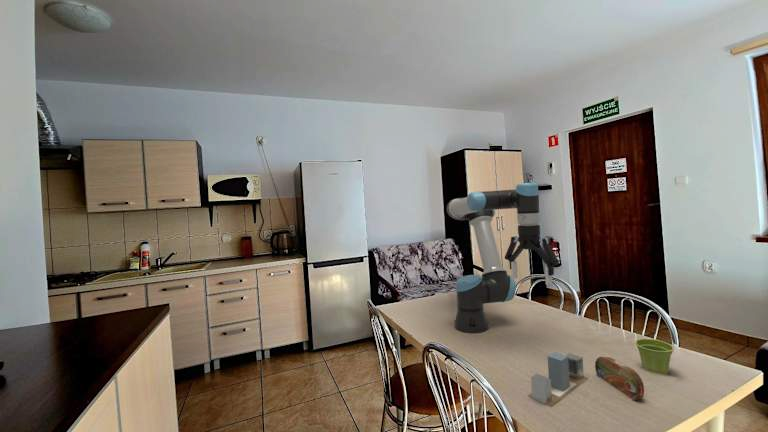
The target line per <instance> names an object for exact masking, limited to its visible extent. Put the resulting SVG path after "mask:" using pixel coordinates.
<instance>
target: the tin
mask: <svg viewBox="0 0 768 432" xmlns="http://www.w3.org/2000/svg"><path fill="white" fill-rule="evenodd" d="M594 368H595V369H594V370H595V373H596V375H597V377H598V378H599V379H602V380H603V381H605V382H606V383H607V384H609V385H610V386H612V387H614V388H615V389H616V390H618V391H619V392H621V393H622V394H624V395H626V396H627V397H628V398H630V399H631V401H638V400H642V399H643V397H644V395H645V386H644V381H643V379H642V378H641V376H640V374H638V372H636V371H635V370H634V369H632V368H631V367H629V366H627V365H626V364H624V363H622V362H620V361H619V360H616V359H614V358H613V357H610V356H599V357H597V359H596V360H595V365H594Z"/></svg>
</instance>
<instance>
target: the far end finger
mask: <svg viewBox="0 0 768 432" xmlns="http://www.w3.org/2000/svg"><path fill="white" fill-rule="evenodd" d="M565 355H566V356H568V364H569V376H570V377H573V378H576V379H578V380H580V379H581V378H582V377H585V376H584V359H583V358H584V357H583V356H580V355H576V354H574V353H571V352H568V353H567V354H565Z"/></svg>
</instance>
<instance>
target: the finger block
mask: <svg viewBox="0 0 768 432" xmlns="http://www.w3.org/2000/svg"><path fill="white" fill-rule="evenodd" d="M566 355H567V354H562V353H558V352H555V351H553V352H552V353H550V354H548V355H547V367H548V369H547V370H548V378H550V379H551V387H553V388H555V389H558V390H560V391H565V390H566V389H567V388H569V387H570V382H569V364H568V356H566Z"/></svg>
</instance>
